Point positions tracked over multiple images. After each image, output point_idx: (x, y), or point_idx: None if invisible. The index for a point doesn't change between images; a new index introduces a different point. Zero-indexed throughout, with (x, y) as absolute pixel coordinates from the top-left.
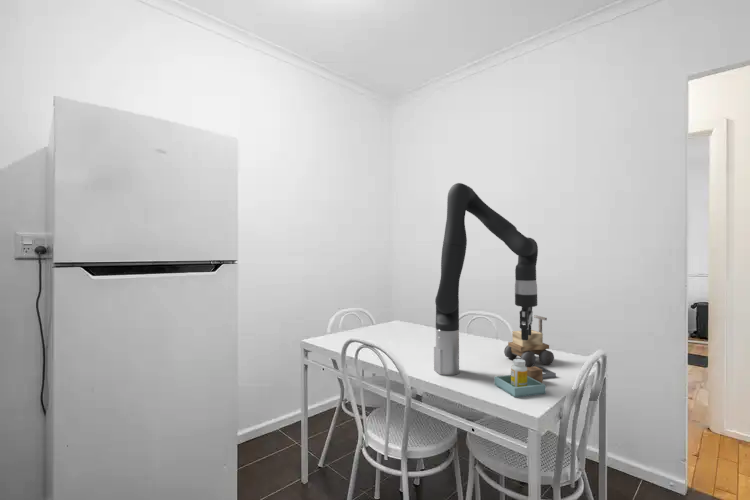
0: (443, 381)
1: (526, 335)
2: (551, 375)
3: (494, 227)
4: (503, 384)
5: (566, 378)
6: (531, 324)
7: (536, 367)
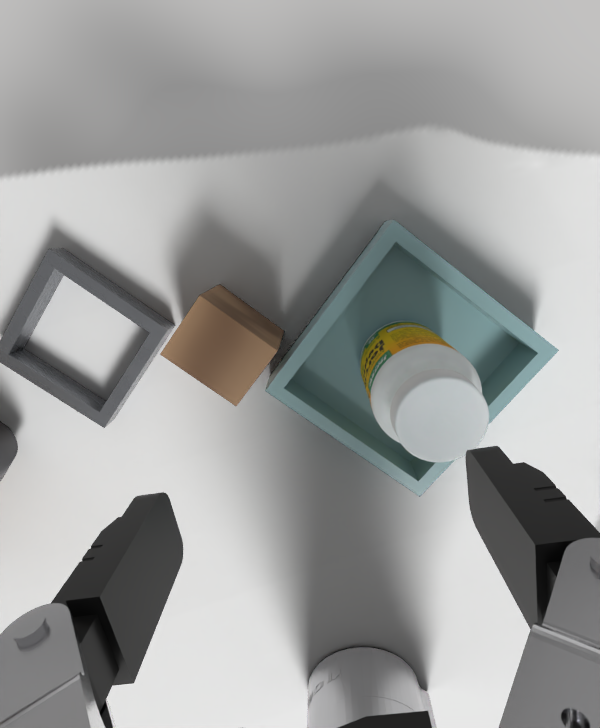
0: (499, 652)
1: (560, 492)
2: (83, 268)
3: None
4: None
5: (36, 188)
6: (65, 608)
7: (178, 341)
